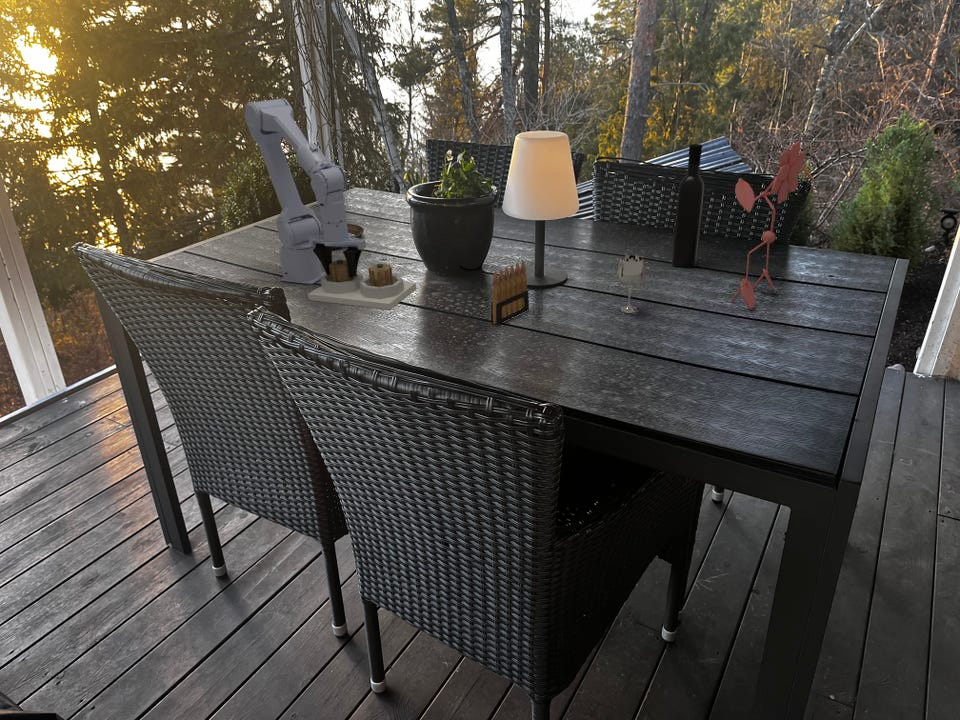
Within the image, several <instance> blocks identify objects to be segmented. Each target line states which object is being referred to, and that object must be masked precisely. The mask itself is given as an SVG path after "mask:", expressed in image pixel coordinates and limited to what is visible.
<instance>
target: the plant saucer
mask: <svg viewBox="0 0 960 720" xmlns="http://www.w3.org/2000/svg"><path fill="white" fill-rule="evenodd" d="M321 226H322V224H321ZM347 229H348V233H351V234H354V235H355V236H351V237H354V238H358V239H361V237H362V236H363V234H364V231H365V229H364V227H362V226H361V225H357V224H352V223H347ZM322 235H324V234H323V227H322ZM335 248H336V249H341V248H340V247H336V246H332V250H335Z"/></svg>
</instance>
